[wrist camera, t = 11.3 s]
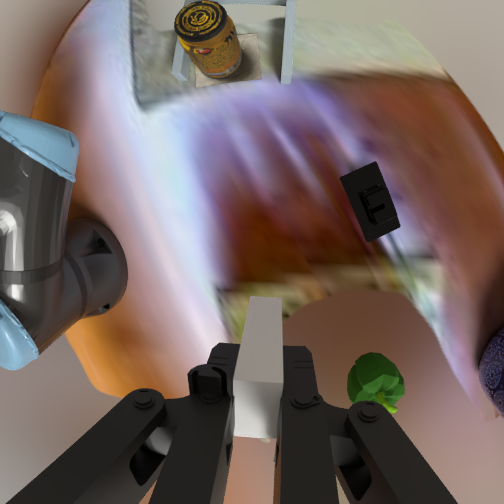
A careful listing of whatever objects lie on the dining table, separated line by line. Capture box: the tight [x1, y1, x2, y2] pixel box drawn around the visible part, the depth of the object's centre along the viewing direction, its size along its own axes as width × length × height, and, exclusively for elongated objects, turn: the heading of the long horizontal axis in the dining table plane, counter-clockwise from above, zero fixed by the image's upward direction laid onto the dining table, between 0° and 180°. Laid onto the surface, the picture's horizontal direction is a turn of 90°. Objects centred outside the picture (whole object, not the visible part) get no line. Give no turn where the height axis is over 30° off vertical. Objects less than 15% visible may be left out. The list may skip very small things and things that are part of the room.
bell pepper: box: [347, 352, 405, 413], centre depth 37 cm, size 8×8×10 cm
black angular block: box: [340, 161, 400, 243], centre depth 34 cm, size 12×7×5 cm, turn 26°
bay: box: [172, 0, 296, 84], centre depth 30 cm, size 14×14×4 cm
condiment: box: [174, 0, 262, 88], centre depth 27 cm, size 7×8×12 cm
